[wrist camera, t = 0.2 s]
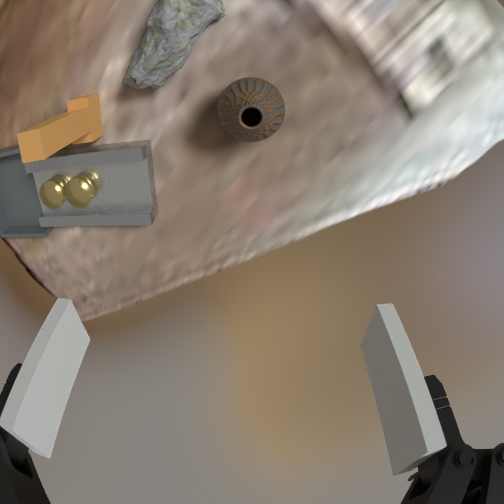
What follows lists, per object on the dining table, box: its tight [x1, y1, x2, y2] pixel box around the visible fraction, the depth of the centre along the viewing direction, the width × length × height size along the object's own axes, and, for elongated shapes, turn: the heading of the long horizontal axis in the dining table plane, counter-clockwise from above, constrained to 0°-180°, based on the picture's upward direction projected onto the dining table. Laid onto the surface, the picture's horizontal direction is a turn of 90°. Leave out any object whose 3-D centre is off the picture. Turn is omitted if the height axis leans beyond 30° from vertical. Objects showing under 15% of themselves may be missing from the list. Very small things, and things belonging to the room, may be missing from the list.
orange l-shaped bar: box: [17, 93, 103, 163], centre depth 26 cm, size 6×3×13 cm, turn 179°
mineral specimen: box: [122, 0, 226, 89], centre depth 24 cm, size 16×7×7 cm, turn 153°
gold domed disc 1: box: [39, 176, 67, 209], centre depth 34 cm, size 4×4×2 cm
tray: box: [0, 145, 53, 237], centre depth 35 cm, size 14×11×3 cm
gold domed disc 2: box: [65, 173, 97, 208], centre depth 34 cm, size 4×4×2 cm
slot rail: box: [24, 140, 158, 227], centre depth 35 cm, size 10×18×4 cm, turn 89°
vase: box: [217, 77, 285, 142], centre depth 29 cm, size 7×7×9 cm
